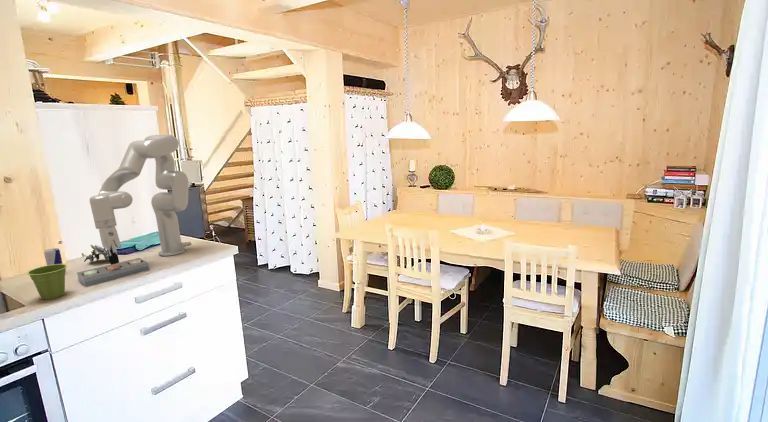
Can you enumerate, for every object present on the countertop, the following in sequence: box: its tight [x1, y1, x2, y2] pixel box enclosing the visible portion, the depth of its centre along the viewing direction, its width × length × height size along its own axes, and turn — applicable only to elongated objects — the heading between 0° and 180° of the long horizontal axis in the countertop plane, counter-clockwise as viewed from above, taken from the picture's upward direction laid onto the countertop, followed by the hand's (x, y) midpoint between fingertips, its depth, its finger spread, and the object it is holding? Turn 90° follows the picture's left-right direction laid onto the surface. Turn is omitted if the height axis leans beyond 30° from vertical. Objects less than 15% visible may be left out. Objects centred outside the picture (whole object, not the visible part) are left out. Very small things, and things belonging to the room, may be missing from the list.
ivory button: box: [129, 260, 141, 265], centre depth 181 cm, size 5×5×2 cm
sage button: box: [84, 270, 97, 276], centre depth 168 cm, size 5×5×2 cm
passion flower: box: [81, 244, 109, 265], centre depth 193 cm, size 11×11×12 cm
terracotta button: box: [107, 265, 120, 270], centre depth 175 cm, size 5×5×2 cm
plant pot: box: [26, 263, 68, 301], centre depth 153 cm, size 12×12×11 cm
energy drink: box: [44, 247, 64, 266], centre depth 177 cm, size 5×5×12 cm
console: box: [76, 257, 150, 288], centre depth 175 cm, size 24×12×4 cm, turn 138°
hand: (114, 263), depth 175 cm, fingers closed
